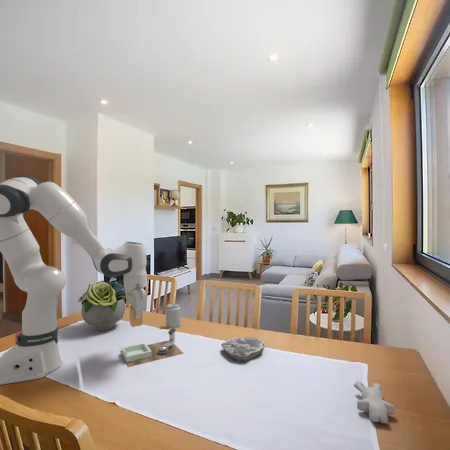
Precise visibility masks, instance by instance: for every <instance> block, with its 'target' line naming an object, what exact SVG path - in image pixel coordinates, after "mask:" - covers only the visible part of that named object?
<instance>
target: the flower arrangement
mask: <svg viewBox="0 0 450 450" xmlns="http://www.w3.org/2000/svg"><path fill="white" fill-rule="evenodd" d="M125 299H126V294H125V288H124V286H122V285H121V284H119V283H118V281H114V282H113V281H109V280H108V281H107V280H99V281H97V282H95V283H93V284H92V285H91V284H90V283H89V284H88V286H87V289H86V291H85V292H84V293H82V296H80V297H79V299H78V300H77V302H78V303H80V302H81V317H82V319H83V321H84V322H85V323H86V324H88V325H89V326H91V327H94V329H96V331H107V330H111V329H112V328H113V327H114V325H115V324H117V323H119V321H121V320H122V319H123V317H124V315H125V312H126V301H125Z"/></svg>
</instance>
